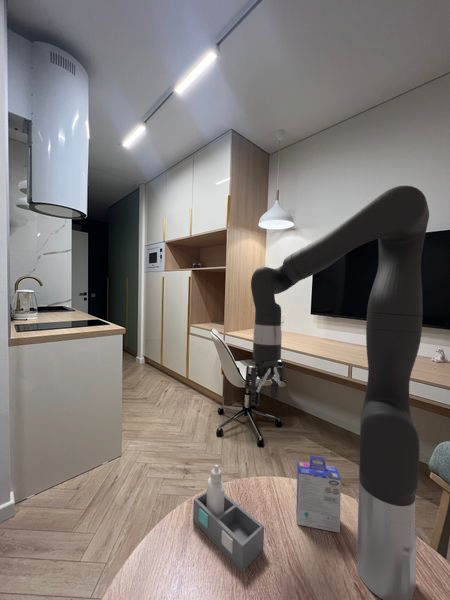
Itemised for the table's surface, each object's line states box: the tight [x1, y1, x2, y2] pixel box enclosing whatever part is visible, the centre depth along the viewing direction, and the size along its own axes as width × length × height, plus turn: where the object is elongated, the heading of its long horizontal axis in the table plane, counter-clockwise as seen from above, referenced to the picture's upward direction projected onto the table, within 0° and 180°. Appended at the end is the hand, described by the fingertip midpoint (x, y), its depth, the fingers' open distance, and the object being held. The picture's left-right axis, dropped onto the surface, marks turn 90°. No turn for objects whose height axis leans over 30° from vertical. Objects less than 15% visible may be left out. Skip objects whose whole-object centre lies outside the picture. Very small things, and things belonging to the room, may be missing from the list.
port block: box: [192, 490, 265, 573], centre depth 57 cm, size 16×7×5 cm, turn 44°
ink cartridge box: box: [295, 455, 342, 534], centre depth 62 cm, size 10×6×14 cm, turn 78°
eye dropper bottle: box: [206, 464, 225, 517], centre depth 60 cm, size 4×6×12 cm
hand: (265, 401), depth 68 cm, fingers open, 8 cm apart
